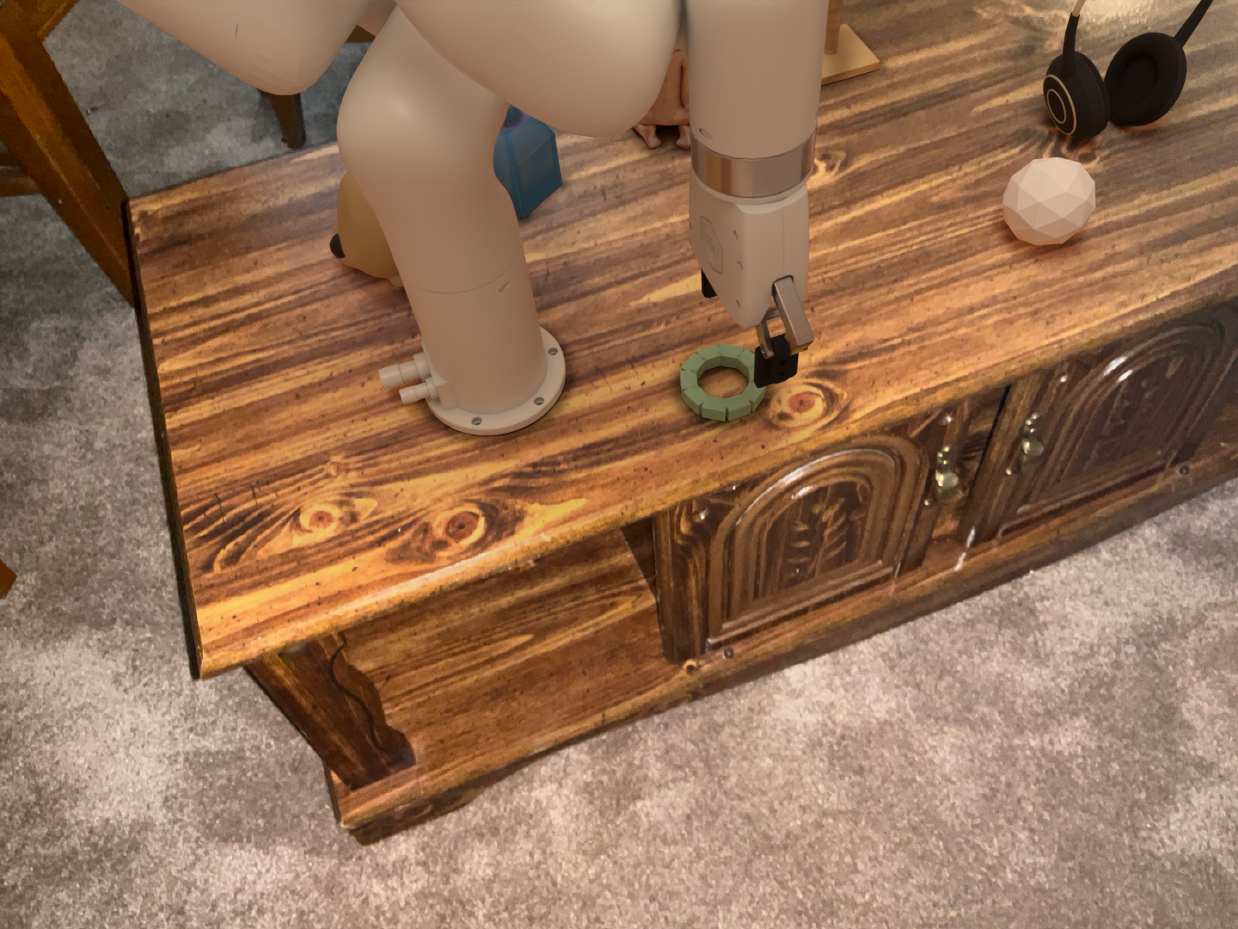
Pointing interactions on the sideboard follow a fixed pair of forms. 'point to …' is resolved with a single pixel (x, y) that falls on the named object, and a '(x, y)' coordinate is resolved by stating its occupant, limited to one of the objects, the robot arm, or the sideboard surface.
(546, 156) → the perfume bottle
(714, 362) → the ring
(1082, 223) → the geometric ball
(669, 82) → the figurine
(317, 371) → the sideboard surface
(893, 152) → the sideboard surface
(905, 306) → the sideboard surface
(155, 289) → the sideboard surface
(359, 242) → the toy pig
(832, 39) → the peg stand
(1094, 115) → the headphones
